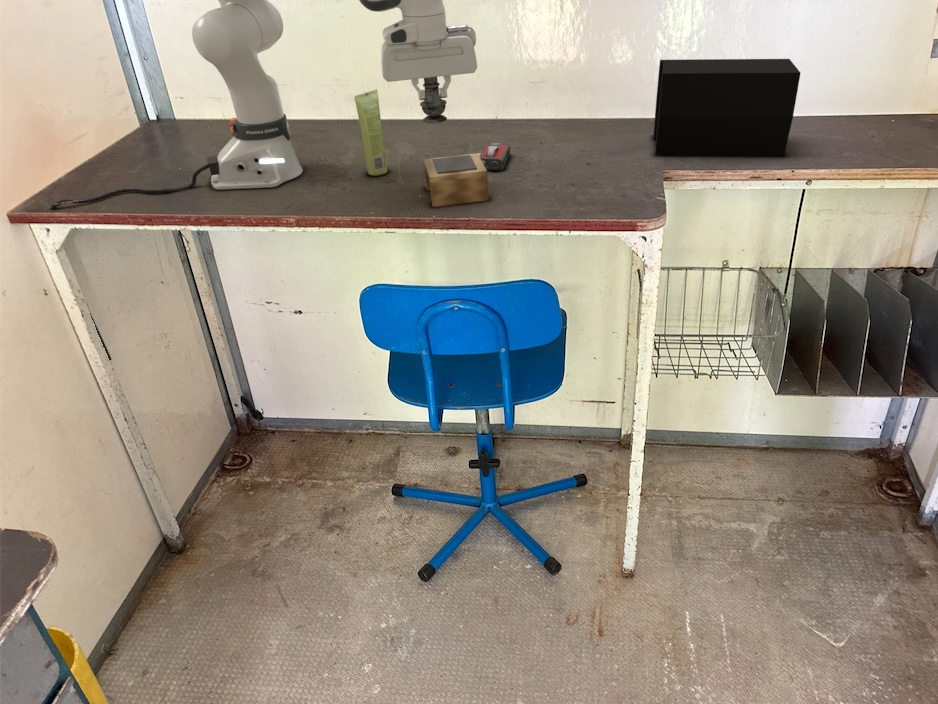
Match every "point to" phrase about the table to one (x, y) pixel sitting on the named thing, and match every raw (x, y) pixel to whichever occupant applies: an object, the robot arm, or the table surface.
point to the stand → (456, 179)
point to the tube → (371, 132)
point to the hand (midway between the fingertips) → (432, 98)
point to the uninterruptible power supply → (725, 107)
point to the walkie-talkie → (495, 156)
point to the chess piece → (433, 102)
